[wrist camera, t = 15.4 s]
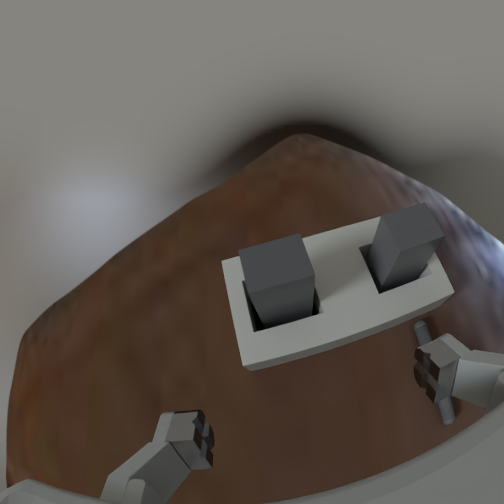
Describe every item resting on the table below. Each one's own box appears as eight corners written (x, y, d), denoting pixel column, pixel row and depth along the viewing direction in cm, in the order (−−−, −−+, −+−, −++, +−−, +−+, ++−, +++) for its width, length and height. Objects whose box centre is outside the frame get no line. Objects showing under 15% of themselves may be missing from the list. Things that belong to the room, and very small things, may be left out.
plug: (311, 319, 24) (315, 274, 16) (266, 332, 24) (248, 293, 16) (301, 287, 25) (299, 231, 18) (258, 299, 26) (237, 248, 18)
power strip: (472, 408, 16) (530, 399, 9) (279, 486, 17) (266, 524, 10) (400, 229, 27) (423, 170, 19) (231, 278, 27) (203, 227, 20)
